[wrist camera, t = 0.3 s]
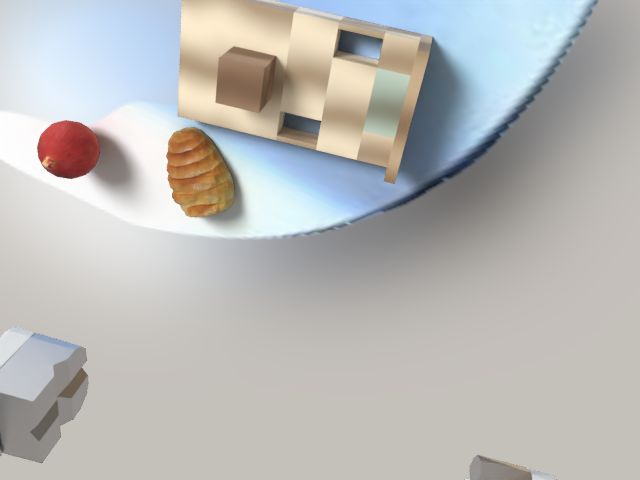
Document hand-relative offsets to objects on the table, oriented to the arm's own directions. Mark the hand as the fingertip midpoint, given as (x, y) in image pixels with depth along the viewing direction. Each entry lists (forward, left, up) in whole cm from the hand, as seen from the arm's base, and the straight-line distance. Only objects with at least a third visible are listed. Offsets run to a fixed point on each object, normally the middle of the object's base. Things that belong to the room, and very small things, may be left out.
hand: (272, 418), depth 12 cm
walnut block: (+9, -13, -44) cm, 47 cm away
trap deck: (+9, -9, -47) cm, 48 cm away
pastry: (+22, -18, -47) cm, 55 cm away
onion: (+21, -31, -47) cm, 60 cm away
